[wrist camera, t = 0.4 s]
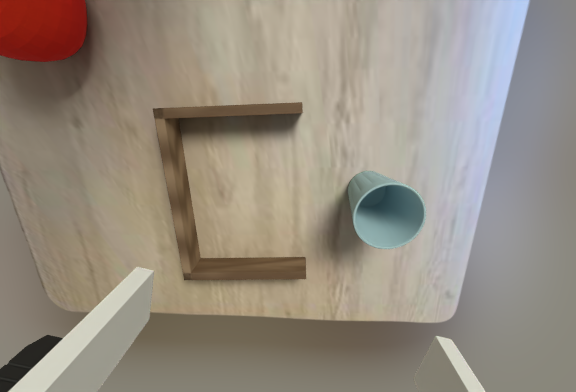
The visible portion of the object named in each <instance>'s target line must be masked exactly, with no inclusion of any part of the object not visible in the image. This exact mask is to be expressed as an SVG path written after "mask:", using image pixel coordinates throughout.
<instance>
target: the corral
mask: <svg viewBox="0 0 576 392" xmlns="http://www.w3.org/2000/svg"><path fill="white" fill-rule="evenodd" d="M153 112H154V118H155V123H156V129H157V134H158V139H159V145H160V150H161V156H162V161H163V167H164V172H165V177H166V183H167V188H168V194H169V199H170V205H171V210H172V215H173V221H174V226H175V232H176V237H177V243H178V248H179V253H180V259H181V264H182V270H183V275H184V280H247V279H306V260H305V257H282V258H200V252H199V245H198V239H197V233H196V226H195V220H194V214H193V207H192V201H191V195H190V188H189V182H188V176H187V169H186V163H185V157H184V150H183V144H182V138H181V131H180V125H179V119H178V118H192V117H217V116H242V115H268V114H293V113H302V102H300V103H276V104H252V105H228V106H204V107H181V108H157V109H153Z"/></svg>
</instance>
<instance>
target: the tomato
mask: <svg viewBox="0 0 576 392" xmlns="http://www.w3.org/2000/svg"><path fill="white" fill-rule="evenodd" d="M86 29H87V11H86V3H85V0H0V55H1V56H5V57H8V58H13V59H18V60H26V61H39V62H48V61H56V60H62V59H66V58H68V57H70V56H72V55H73V54H75V53H76V52H77V51H78V50H79V49H80V48H81V47H82V45H83V42H84V39H85V36H86Z"/></svg>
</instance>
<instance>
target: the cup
mask: <svg viewBox="0 0 576 392" xmlns="http://www.w3.org/2000/svg"><path fill="white" fill-rule="evenodd" d="M348 196H349V202H350V207H351V213H352V220H353V225H354V229H355V231H356V233H357V235H358V236H359V237H360V239H361V240H363V241H364V242H365V243H366V244H368V245H370V246H372V247H375V248H379V249H393V248H397V247H400V246H403V245H405V244H407V243H408V242H410V241H411V240H413V239H414V238H415V237H416V236H417V235H418V234H419V232H420V231H421V229H422V227H423V225H424V223H425V219H426V207H425V203H424V201H423V199H422V197H421V196H420V194H419V193H418V192H417V191H416V190H414V189H413V188H411V187H410V186H407V185H405V184H403V183H400V182H398V181H395V180H393V179H390V178H388V177H386V176H383V175H381V174H379V173H376V172H374V171H364V172H361V173H359V174H357V175H356V176H354V178H353V179H352V180H351V181H350V183H349V186H348Z"/></svg>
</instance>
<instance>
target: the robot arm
mask: <svg viewBox="0 0 576 392" xmlns="http://www.w3.org/2000/svg"><path fill="white" fill-rule="evenodd" d="M153 278H154V271H153V270H149V269H145V268H140V267H136V268H135V269H134V270H133V271H132V272H131V273H130V274H129V275H128V276H127V277H126V278H125V279H124V280H123V281H122V282H121V283H120V284H119V285H118V286H117V287H116V288H115V289H114V290H113V291H112V292H111V293H110V294H109V295H108V296H107V297H105V298H104V299H103V300H102V301H101V302H100V303H99V304H98V305H97V306H96V307H95V308H94V309H93V310H92V311H91V312H90V313H89V314H88V315H87V316H86V317H85V318H84V319H83V320H82V321H81V322H80V323H79V324H78V325H77V326H76V327H75V328H74V329H73V330H71V331H70V332H69V334H67V335H66V336H65V337H64V338H59V337H55V336H50V335H46V336H44V337H43V338H41V339H39V340H37V341H36V342H33V343H32V344H30V345H28V346H26V347H25V348H24V349H23V350H22V351H21V352H19V353H18V354H17V355H16V356H15V357H14V358H12V359H11V360H10V361H9V363H8V364H7V365H4V366H3V367H2V368H1V369H0V392H97V391H98V390H99V388H100V387H101V386H102V384H103V383H104V382H105V380H106V379H107V378H108V376H109V375H110V373H111V372H112V370H113V369H114V368H115V366H116V365H117V364H118V362H119V361H120V359H121V358H122V356H123V355H124V354H125V352H126V351H127V349H128V348H129V347H130V345H131V344H132V343H133V341H134V340H135V338H136V337H137V336H138V334H139V333H140V332H141V330H142V329H143V327H144V326H145V325H146V323H147V322H148V320H149V317H150V307H151V298H152V288H153ZM413 380H414V382H415V385H416V387H417V389H418V392H485V390H484V389H483V387H482V386H481V384H480V383H479V381H478V379H477V378H476V377H475V375H474V373H473V372H472V370H471V369H470V367H469V366H468V364H467V363H466V361H465V360H464V358H463V357H462V355H461V353H460V352H459V350H458V349H457V347H456V346H455V344H454V343H453V341H452V340H451V339H447V338H443V337H439V336H435V338H434V340H433V341H432V344H431V345H430V347H429V349H428V351H427V353H426V355H425V357H424V359H423V361H422V362H421V364H420V366H419V368H418V370H417V372H416V374H415V376H414V378H413Z"/></svg>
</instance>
